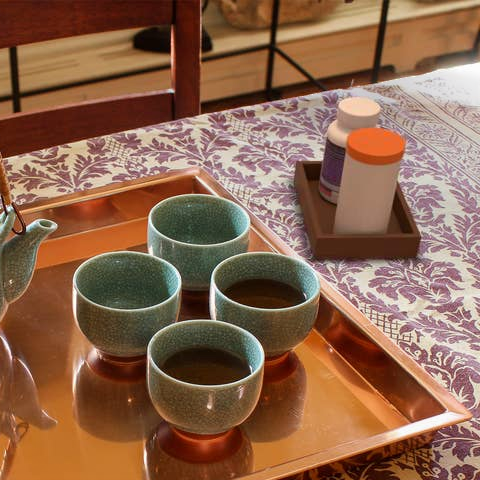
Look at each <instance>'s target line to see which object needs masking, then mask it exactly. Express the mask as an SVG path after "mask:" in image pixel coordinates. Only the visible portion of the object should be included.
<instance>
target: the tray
mask: <svg viewBox="0 0 480 480" xmlns="http://www.w3.org/2000/svg"><path fill="white" fill-rule="evenodd" d="M322 163H323V160H296V161H295V167H294V176H293V185H294V189H295V193H296V196H297V200H298V204H299V208H300V212H301V215H302V219H303V223H304V227H305V231H306V235H307V239H308V242H309V246H310V249H311V253H312V257H313V260H320V261H321V260H323V261H324V260H409V259H410V260H412V259H413V260H414V259H415V260H416V259H417V258H418V254H419V249H420V246H421V242H422V241H421V240H422V235H421V232H420V230H419V228H418V225H417V223H416V220H415V218H414V215H413V213H412V211H411V209H410V206H409V203H408V201H407V199H406V197H405V194H404V192H403V189H402V187H401V185H400V183H399V179H398V180H397V185H396V189H395V194H394V199H393V204H392V208H391V213H390V218H389V223H388V228H387V232H386V234H333V228H334V221H335V215H336V209H337V204H334V203H331V202H329V201H327V200H325V199H324V198H323V197H322V196H321V194H320V192H319V183H320V176H321V169H322Z"/></svg>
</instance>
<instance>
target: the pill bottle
mask: <svg viewBox="0 0 480 480" xmlns="http://www.w3.org/2000/svg"><path fill="white" fill-rule="evenodd" d="M337 106H338V107H337V112H336V119H335V120H333V121H332V122H331V123H330V124H329V126H328V128H327V131H326V136H325V143H324V149H323V156H322V161H323V163H322V169H321V176H320V183H319V192H320V194H321V196H322V197H323V198H324V199H325V200H327V201H329V202H331V203H334V204H337V203H338V197H339V191H340V185H341V179H342V173H343V167H344V161H345V154H346V141H347V137H348V135H349V134H350V133H351V132H353V131H355V130H358V129H362V128H381V126H380V125H379V124H378V123H379V120H380V116H381V105H380V104H379V103H378V102H377V101H375V100H373V99H370V98H366V97H359V96H353V97H347V98H344V99H341V101H339V103H338V105H337Z"/></svg>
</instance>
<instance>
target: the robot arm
mask: <svg viewBox="0 0 480 480" xmlns="http://www.w3.org/2000/svg"><path fill="white" fill-rule="evenodd" d="M343 1H344V4H352V3H353V2H354V1H355V0H343Z"/></svg>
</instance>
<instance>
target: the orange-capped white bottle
mask: <svg viewBox="0 0 480 480" xmlns="http://www.w3.org/2000/svg"><path fill="white" fill-rule="evenodd" d="M406 147H407V143H406V140H405V138H404V137H403V136H402V135H400V134H399V133H397V132H394V131H393V130H390V129H386V128H381V127H380V128H362V129H358V130H355V131H353V132H351V133H350V134H349V135H348V137H347V141H346V154H345V161H344V167H343V173H342V179H341V185H340V191H339V197H338V203H337V209H336V215H335V221H334V228H333V234H386V232H387V228H388V223H389V218H390V213H391V208H392V204H393V199H394V194H395V189H396V185H397V180H398V181H399V175H400V170H401V165H402V160H403V158H404V157H405V151H406Z"/></svg>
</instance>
